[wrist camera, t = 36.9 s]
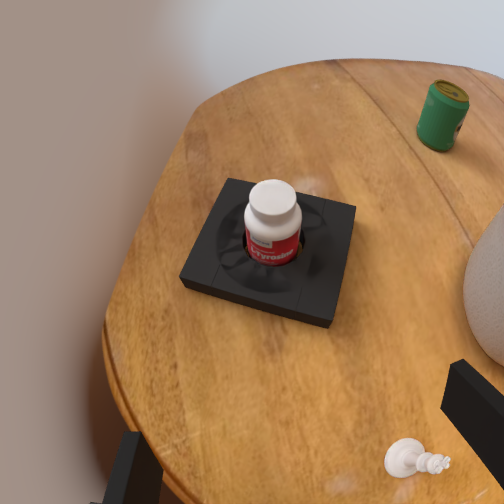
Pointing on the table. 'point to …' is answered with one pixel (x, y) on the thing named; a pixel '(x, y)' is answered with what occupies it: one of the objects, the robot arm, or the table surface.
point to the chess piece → (412, 459)
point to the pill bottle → (272, 223)
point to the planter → (487, 289)
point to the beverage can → (442, 115)
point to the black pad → (273, 278)
